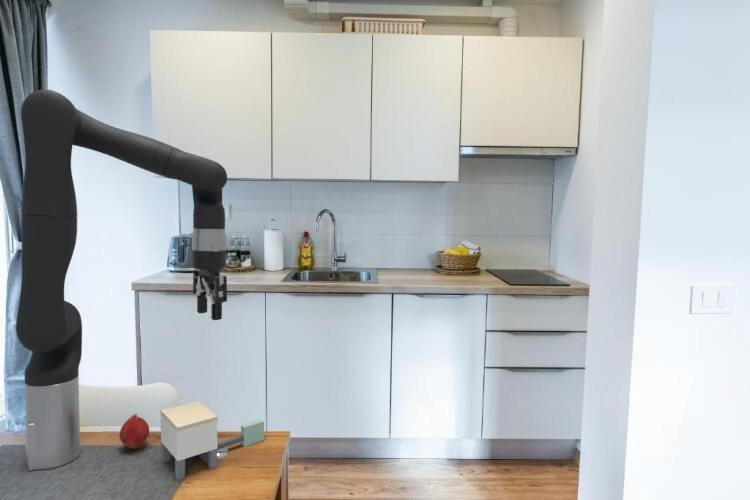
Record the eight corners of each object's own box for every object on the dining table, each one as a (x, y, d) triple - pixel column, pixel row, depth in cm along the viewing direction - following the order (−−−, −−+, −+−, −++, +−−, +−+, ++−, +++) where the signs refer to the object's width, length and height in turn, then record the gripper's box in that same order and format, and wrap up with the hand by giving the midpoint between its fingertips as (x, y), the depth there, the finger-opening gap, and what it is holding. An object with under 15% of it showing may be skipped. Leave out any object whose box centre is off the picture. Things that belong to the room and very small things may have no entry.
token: (232, 454, 102) (232, 451, 102) (215, 462, 99) (215, 459, 98) (219, 447, 105) (219, 443, 105) (202, 455, 101) (202, 451, 101)
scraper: (206, 463, 98) (206, 443, 97) (197, 454, 101) (197, 434, 101) (267, 442, 107) (267, 424, 107) (257, 434, 111) (257, 416, 110)
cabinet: (177, 480, 91) (177, 427, 90) (161, 459, 99) (160, 410, 98) (217, 466, 96) (217, 416, 96) (198, 447, 104) (198, 401, 103)
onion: (114, 450, 102) (113, 415, 101) (138, 439, 107) (137, 406, 106) (131, 457, 99) (130, 421, 98) (154, 446, 104) (154, 411, 103)
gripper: (182, 246, 111) (182, 312, 113) (205, 250, 101) (205, 324, 102) (212, 245, 116) (212, 309, 118) (237, 249, 106) (237, 319, 107)
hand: (209, 316), depth 110 cm, fingers open, 8 cm apart
